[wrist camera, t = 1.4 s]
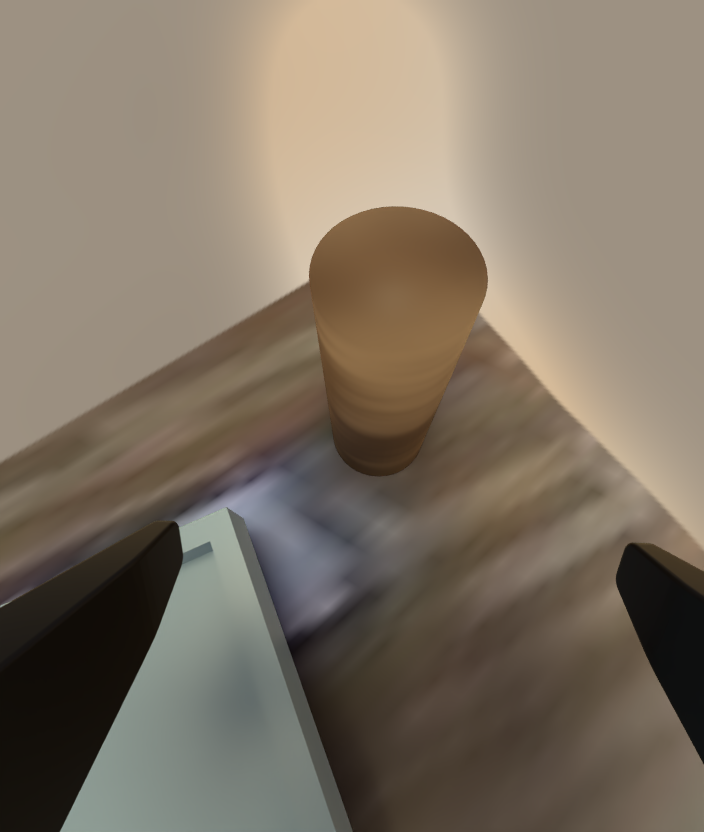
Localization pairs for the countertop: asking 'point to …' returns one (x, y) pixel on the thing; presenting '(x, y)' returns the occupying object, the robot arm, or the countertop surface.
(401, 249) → the walnut post
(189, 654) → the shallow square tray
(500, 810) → the countertop surface
